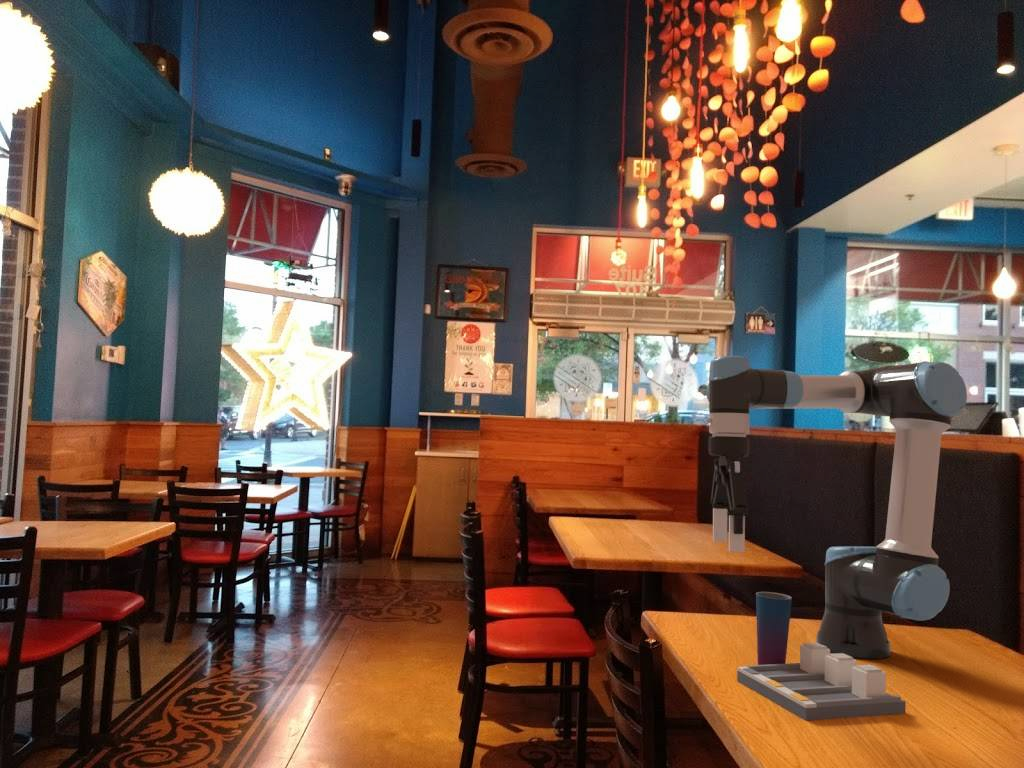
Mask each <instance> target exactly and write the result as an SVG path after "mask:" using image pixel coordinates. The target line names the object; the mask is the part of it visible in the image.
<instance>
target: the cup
mask: <svg viewBox="0 0 1024 768" xmlns="http://www.w3.org/2000/svg"><path fill="white" fill-rule="evenodd" d="M792 599H793V597H792V596H790V595H787V594H784V593H780V592H779V593H778V592H773V591H772V592H770V591H758V592H756V593H755V600H756V601H755V605H756V606H755V607H756V609H755V610H756V642H757V643H756V644H757V646H756V649H757V653H756V654H757V665H768V664H787V663H786V662H787V653H788V652H787V650H788V643H789V642H788V641H789V631H790V621H791V609H792V602H793V601H792Z"/></svg>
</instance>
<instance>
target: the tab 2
mask: <svg viewBox="0 0 1024 768" xmlns="http://www.w3.org/2000/svg"><path fill="white" fill-rule="evenodd" d="M886 673H887V672H886V671H883V669H882V668H879V667H878V666H875V665H872V664H861V665H860V664H858V665H857V664H856V665H855V667H852V694H854V695H856V696H858V697H860V698H863V697H879V696H886V693H887V691H886V689H887V688H886V687H887V685H886V683H887V681H886V676H887V675H886Z"/></svg>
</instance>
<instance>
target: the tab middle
mask: <svg viewBox="0 0 1024 768" xmlns="http://www.w3.org/2000/svg"><path fill="white" fill-rule="evenodd" d="M855 665H857V660H856V659H854V657H851V656H848V655H846V654H843V653H837V654H836V653H830V654H828V655H826V656H825V681H827V682H829V683H831V684H833V685H835V686H840V685H852V667H855Z"/></svg>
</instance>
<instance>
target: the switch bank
mask: <svg viewBox="0 0 1024 768" xmlns="http://www.w3.org/2000/svg"><path fill="white" fill-rule="evenodd" d="M736 673H737V674H736V676H737V677H736V681H737V682H738V683H740V684H742V685H743V686H744V687H747V688H748V689H750V690H752V691H754V692H756V693H757V694H758V695H760V696H762V697H764V698H766V699H768V700H770V701H771V702H773V703H774V704H776V705H778V706H780V707H781V708H783V709H785V710H787V711H788V712H791V713H792V714H793V715H795V716H797V717H799V718H800V719H802V720H804V721H808V722H809V721H818V720H833V719H846V718H859V717H863V718H864V717H873V716H886V715H904V714H906V713H907V712H906V711H907V710H906V704H907V703H906V700H904V699H902V698H901V697H902V696H901V695H898V694H897V695H895V694H894V695H893V694H890V693H888V692H886V696H879V697H863V698H860V697H858V696H856V695H854V694H852V685H840V686H835V685H833V684H831V683H829V682H827V681H825V673H808V672H806V671H804V670H801V669H800V662H793V663H785V664H768V665H758V664H754V665H753V664H751V665H750V664H748V665H746V666H738V667H737V671H736Z"/></svg>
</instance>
